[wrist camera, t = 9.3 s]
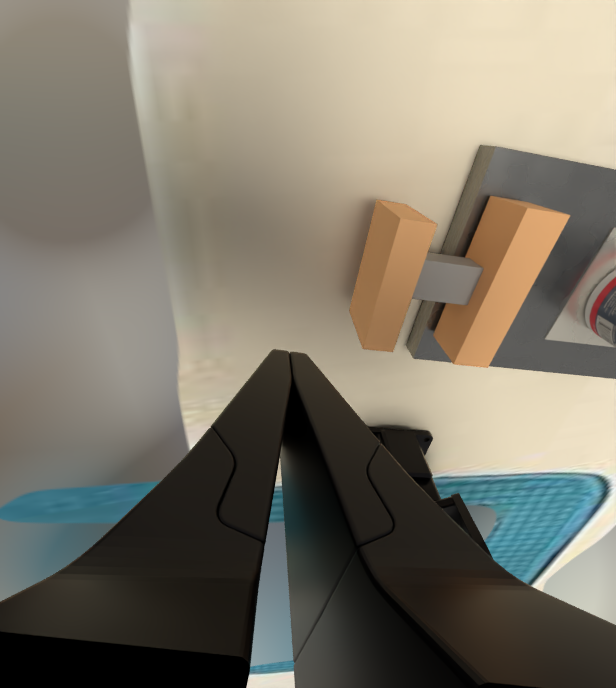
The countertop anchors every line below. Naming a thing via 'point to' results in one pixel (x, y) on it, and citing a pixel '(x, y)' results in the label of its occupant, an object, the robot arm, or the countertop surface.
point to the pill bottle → (603, 309)
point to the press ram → (452, 276)
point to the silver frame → (558, 270)
